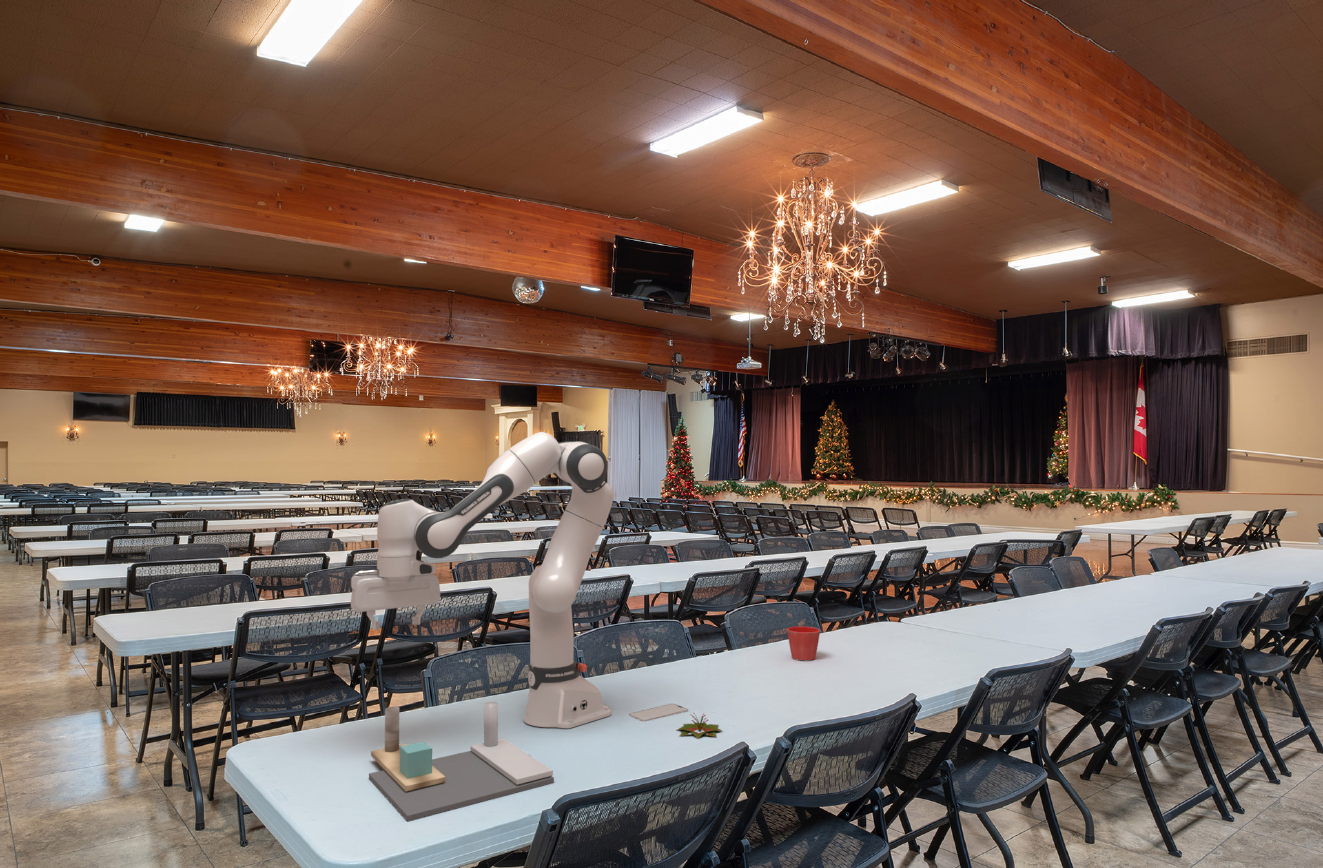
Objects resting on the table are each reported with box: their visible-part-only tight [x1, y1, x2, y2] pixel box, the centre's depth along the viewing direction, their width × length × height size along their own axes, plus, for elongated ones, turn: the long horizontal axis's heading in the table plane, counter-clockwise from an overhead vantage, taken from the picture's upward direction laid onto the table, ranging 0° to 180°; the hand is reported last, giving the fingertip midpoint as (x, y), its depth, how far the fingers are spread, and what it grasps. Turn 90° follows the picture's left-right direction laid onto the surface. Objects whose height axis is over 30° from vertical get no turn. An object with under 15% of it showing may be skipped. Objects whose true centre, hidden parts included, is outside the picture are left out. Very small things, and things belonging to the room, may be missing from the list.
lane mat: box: [368, 750, 555, 822], centre depth 165 cm, size 30×25×1 cm
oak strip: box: [370, 706, 445, 791], centre depth 168 cm, size 8×24×10 cm, turn 36°
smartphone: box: [628, 703, 689, 722], centre depth 209 cm, size 7×1×15 cm
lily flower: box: [676, 712, 723, 740], centre depth 194 cm, size 12×12×5 cm
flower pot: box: [786, 626, 821, 662], centre depth 267 cm, size 11×11×10 cm
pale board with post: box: [470, 701, 554, 785], centre depth 171 cm, size 8×24×10 cm, turn 36°
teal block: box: [400, 741, 433, 779], centre depth 163 cm, size 5×5×5 cm
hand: (396, 626), depth 188 cm, fingers open, 8 cm apart
